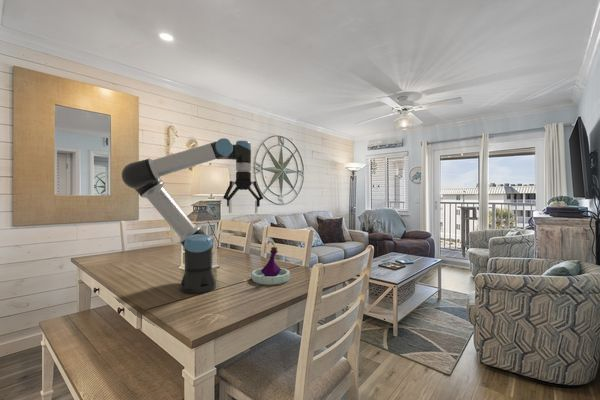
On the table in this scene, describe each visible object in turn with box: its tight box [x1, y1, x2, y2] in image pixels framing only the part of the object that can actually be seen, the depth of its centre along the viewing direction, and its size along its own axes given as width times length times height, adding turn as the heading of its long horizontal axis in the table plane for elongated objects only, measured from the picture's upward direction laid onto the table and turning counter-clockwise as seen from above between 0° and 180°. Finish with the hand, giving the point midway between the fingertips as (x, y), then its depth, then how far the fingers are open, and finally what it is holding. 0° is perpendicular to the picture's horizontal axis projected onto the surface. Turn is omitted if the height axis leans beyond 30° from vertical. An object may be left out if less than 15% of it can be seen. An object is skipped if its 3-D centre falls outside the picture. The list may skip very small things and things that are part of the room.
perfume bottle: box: [261, 240, 281, 277], centre depth 146 cm, size 8×8×18 cm
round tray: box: [251, 267, 291, 286], centre depth 145 cm, size 18×18×4 cm
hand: (243, 213), depth 149 cm, fingers open, 13 cm apart
